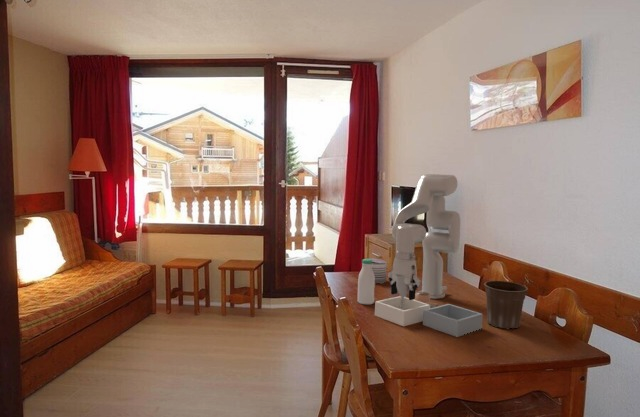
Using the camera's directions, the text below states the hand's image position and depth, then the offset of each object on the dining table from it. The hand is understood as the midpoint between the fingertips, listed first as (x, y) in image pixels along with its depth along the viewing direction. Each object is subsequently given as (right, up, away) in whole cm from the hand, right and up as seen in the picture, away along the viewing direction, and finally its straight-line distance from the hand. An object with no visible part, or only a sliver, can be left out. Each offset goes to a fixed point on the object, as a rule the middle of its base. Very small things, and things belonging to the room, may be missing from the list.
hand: (402, 296), depth 188 cm
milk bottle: (-13, -7, +21) cm, 26 cm away
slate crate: (+18, -10, -9) cm, 22 cm away
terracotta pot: (+11, -8, +13) cm, 19 cm away
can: (-4, -4, +62) cm, 63 cm away
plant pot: (+40, -11, -5) cm, 41 cm away
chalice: (0, -9, +1) cm, 9 cm away
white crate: (0, -9, +1) cm, 9 cm away
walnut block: (+12, -9, +4) cm, 16 cm away
